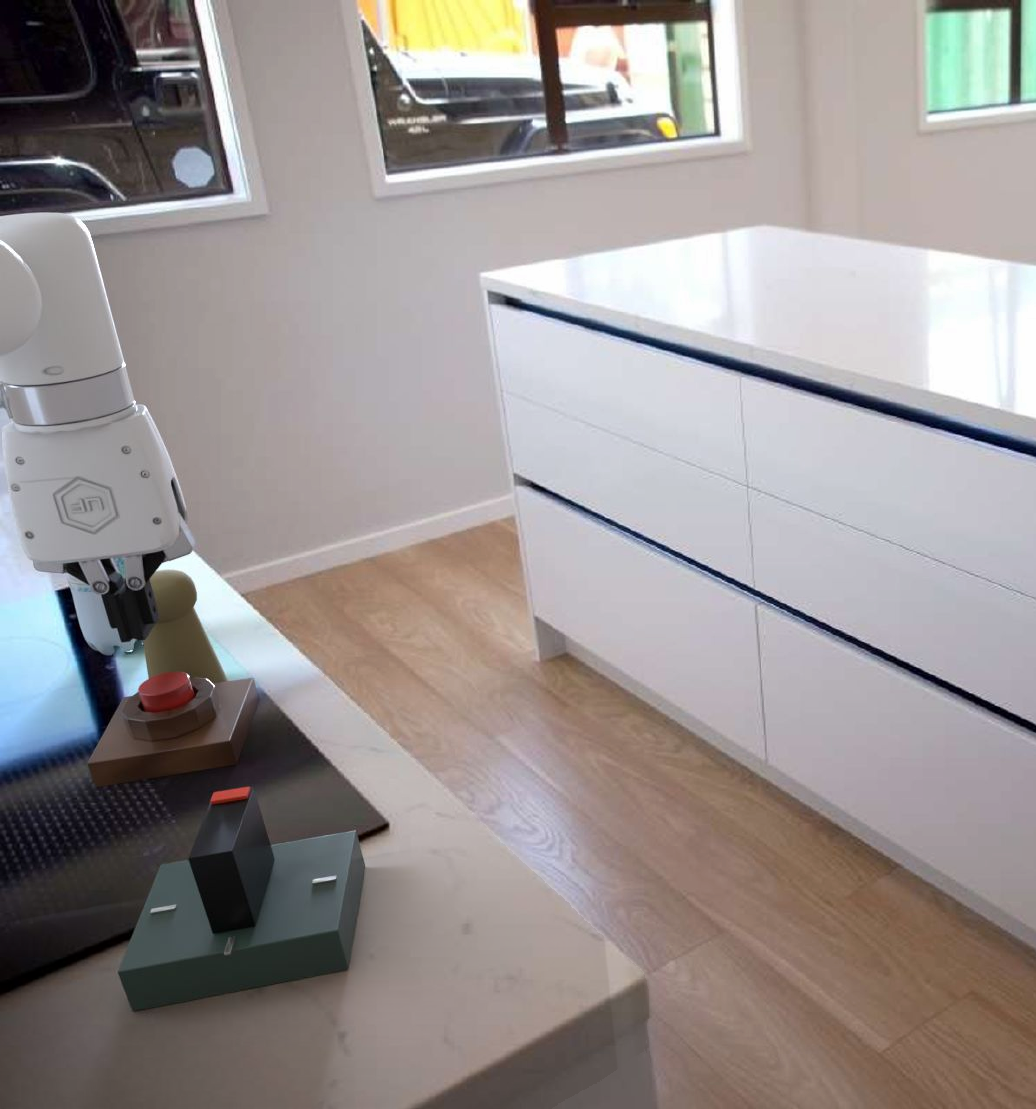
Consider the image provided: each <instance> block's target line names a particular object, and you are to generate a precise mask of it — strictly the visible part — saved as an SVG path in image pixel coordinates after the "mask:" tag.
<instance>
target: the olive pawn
mask: <svg viewBox="0 0 1036 1109" xmlns="http://www.w3.org/2000/svg"><path fill="white" fill-rule="evenodd" d="M150 582H151V586H152V590H153V593H154V597H155V600H156V604H157V608H158V612H159V619H158V621H157V623H155V625H154V627H153V628H152V630H151V632H150V633H149V635H148V637H147V638H146V640H143V645H144V646H143V645H142V646H143V651H144V657H145V658H144V659H145V664H146V670H147V671H146V672H147V677H148V679H149V678H152V677H154V676H156V675H159V674H163V673H168V672H184V673H186V674H187V675H188V676H189V677H197V678H205V679H208V680H209V681H210V682H211V683H212V684H214V683H220V682H227V681H229V679H228V677H227V675H226V672H225V671H224V668H223V666H222V664H221V662H220V659H219V657H218V656H217V655H218V654H216V652H215V649H214V647H213V645H212V643H211V641H210V639H209V636H208V635H207V632H206V630H205V628H204V626H203V624H202V621H201V619H200V617H199V615H198V613H197V611H196V609H195V605H196V603H197V601H198V591H197V587H196V584H195V582H194V580H193V579H192V577H191V576H189V575H188V574H187V573H186V572H184V571H182V570H177V569H161V570H156V571H155V573H154V574H153V575H152V577H151V578H150Z"/></svg>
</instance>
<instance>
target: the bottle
mask: <svg viewBox="0 0 1036 1109" xmlns="http://www.w3.org/2000/svg"><path fill="white" fill-rule="evenodd" d="M113 559H114V561H115V563H116V565H117V567H118V569H119V572H120V574H121V575H122V576H123V578H126V576H125V567H124V557H116V558H113ZM64 574H65V577H66V581H67V584H68V587H69V589H70V592H71V595H72V600H73V604H74V608H75V612H76V615H77V620H78V624H79V627H80V630H81V632H82V636H83V638H84V641H86V643H87V645H88V646H89V647H90V648H91V649H93V650H94V651H96V652H99V653H100V654H102V655H104V656H113V655H114V654H115V653H116V649H115V646H116V647H120V649H121V650H122V652H123V653H124V652H127V651H130V650H133V649H134V650H135V642H136V641H137V639H134V638H133V640H131V641H130V642H123V643H122V642H121V640H120V637H119V634H118V630H117V628H115V629H112V628H111V627H110V624H109V621H108V617H107V614H106V610H105V607H104V604H103V600H102V597H101V595H98V594H96V593H94V592H93V591H92V589H91V587H90V586H89V585H87V584H86V583H84V582H82V581H81V580H79V579H77V578H75V577H74V576H72V575H70V574H69V573H64ZM139 641H140V643H143V640H139ZM114 652H115V653H114ZM113 653H114V654H113ZM112 654H113V655H112Z"/></svg>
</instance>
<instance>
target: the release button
mask: <svg viewBox="0 0 1036 1109" xmlns="http://www.w3.org/2000/svg"><path fill="white" fill-rule="evenodd" d="M137 692H139V695H140V698H141V701H142V704H143V707H144V710H145V711H146V712H150V713H157V712H163V711H170V710H173V709H175V708H178V707H181V706H183V705H185V704H187V703H188V702H190V701H191V700H193V699H194V697H195V695H194V691H193V688H192V685H191V681H190V678H189V676H188V675H187V674H186V673H184V672H168V673H163V674H159V675H156V676H154V677H152V678H148V679H146V680H144V681H143V682H142V683H140V685H139V686H138V689H137Z"/></svg>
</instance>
